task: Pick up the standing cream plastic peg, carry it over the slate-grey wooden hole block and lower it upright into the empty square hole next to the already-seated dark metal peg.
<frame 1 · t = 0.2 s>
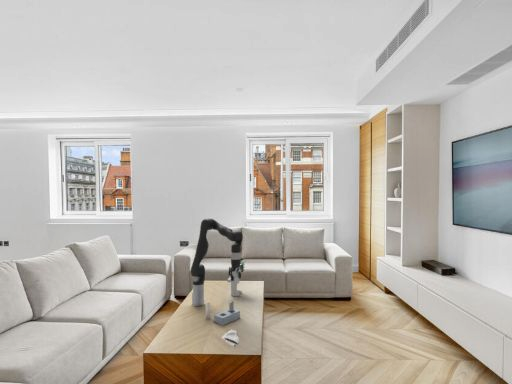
hand: (236, 279, 241), 29 cm above the table, fingers open, 8 cm apart
cloth: (231, 338, 208), on the table
toy: (237, 294, 295), on the table
hole block: (227, 319, 237), on the table
cream peg: (207, 318, 240), on the table
grey peg: (231, 317, 241), resting in hole block
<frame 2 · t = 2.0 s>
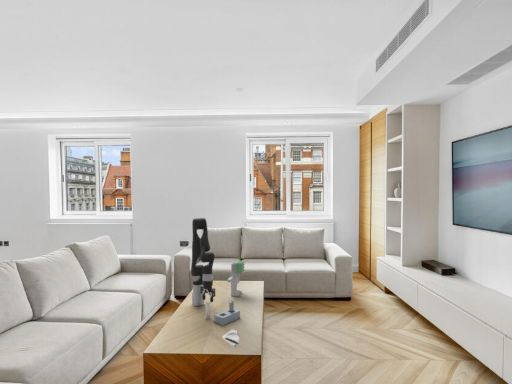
hand: (207, 301, 240), 13 cm above the table, fingers open, 8 cm apart
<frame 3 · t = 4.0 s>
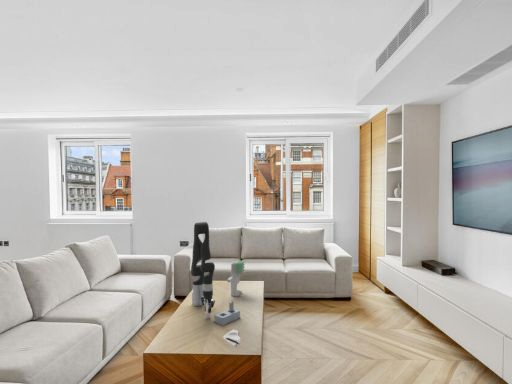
hand: (207, 312, 240), 5 cm above the table, fingers closed on cream peg, 3 cm apart
cream peg: (207, 318, 240), on the table, touching gripper
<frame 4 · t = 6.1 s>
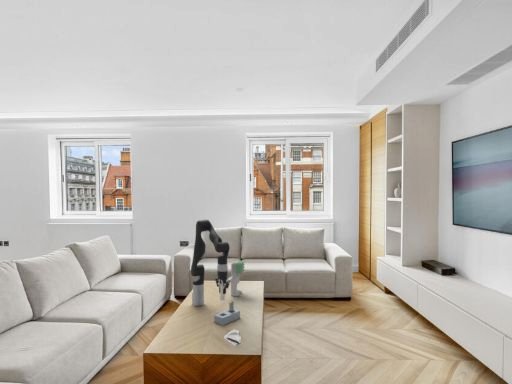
hand: (222, 293, 234), 21 cm above the table, fingers closed on cream peg, 3 cm apart
cream peg: (222, 299, 234), point 16 cm above the table, touching gripper
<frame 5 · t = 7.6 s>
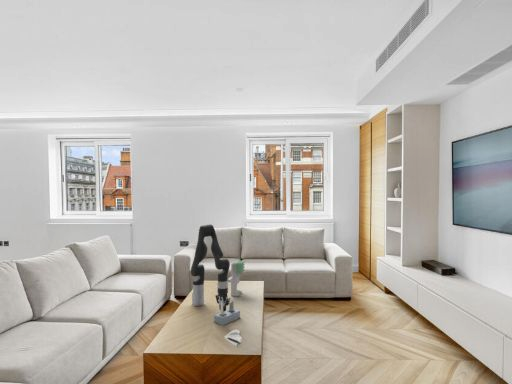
hand: (222, 310, 234), 8 cm above the table, fingers closed on cream peg, 3 cm apart
cream peg: (222, 316, 234), point 4 cm above the table, touching gripper
when the fingers open (6 cm above the table, at t = 8.7 s): cream peg drops 1 cm, resting in hole block.
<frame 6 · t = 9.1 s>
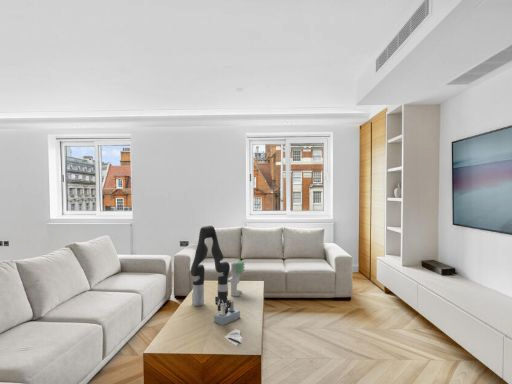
hand: (222, 312, 234), 7 cm above the table, fingers open, 7 cm apart
cream peg: (222, 321, 234), resting in hole block
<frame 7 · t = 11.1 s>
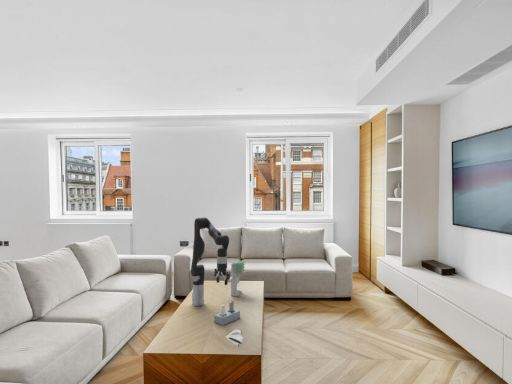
hand: (221, 283, 239), 26 cm above the table, fingers open, 8 cm apart
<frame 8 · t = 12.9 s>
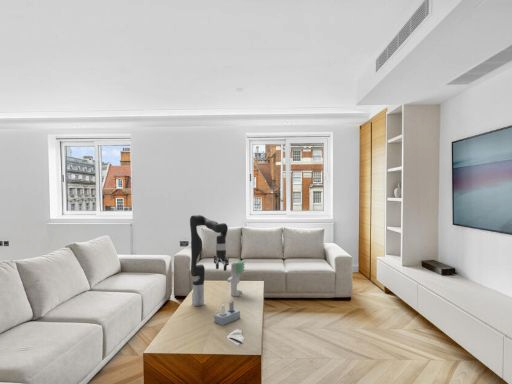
hand: (221, 269, 249), 34 cm above the table, fingers open, 8 cm apart
at the end: cream peg 0.1 cm from the target spot on the hole block, point 0.0 cm above the hole block's base; cream peg tilted 0°; the gripper is holding nothing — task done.
